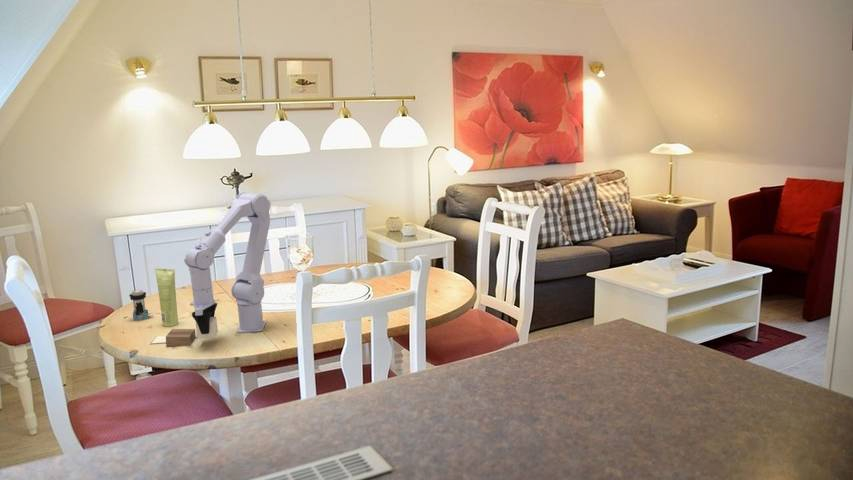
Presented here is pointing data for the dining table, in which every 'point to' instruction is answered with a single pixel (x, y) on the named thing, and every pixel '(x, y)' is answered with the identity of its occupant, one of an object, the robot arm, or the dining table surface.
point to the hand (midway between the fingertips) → (207, 330)
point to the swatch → (159, 340)
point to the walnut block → (180, 337)
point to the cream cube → (212, 330)
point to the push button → (139, 305)
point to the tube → (167, 296)
